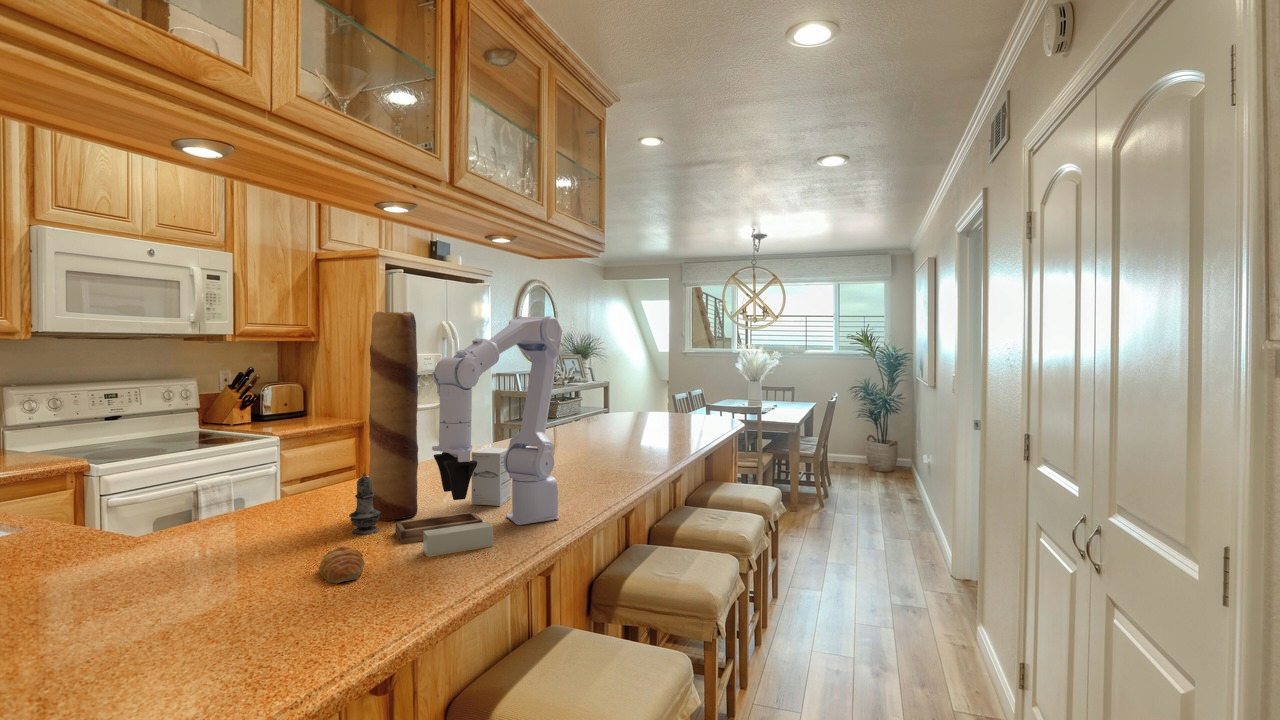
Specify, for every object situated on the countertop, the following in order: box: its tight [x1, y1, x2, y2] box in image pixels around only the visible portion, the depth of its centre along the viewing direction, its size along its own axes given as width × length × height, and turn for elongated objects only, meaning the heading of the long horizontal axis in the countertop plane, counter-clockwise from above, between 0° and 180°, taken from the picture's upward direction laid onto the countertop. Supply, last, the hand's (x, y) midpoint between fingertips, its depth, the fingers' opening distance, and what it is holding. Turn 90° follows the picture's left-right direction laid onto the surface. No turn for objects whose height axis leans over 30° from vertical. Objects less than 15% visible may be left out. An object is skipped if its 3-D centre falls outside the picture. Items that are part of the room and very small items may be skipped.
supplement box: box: [471, 447, 512, 507], centre depth 150 cm, size 7×7×13 cm
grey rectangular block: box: [422, 521, 494, 558], centre depth 117 cm, size 12×4×4 cm, turn 120°
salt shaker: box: [348, 472, 381, 536], centre depth 127 cm, size 6×6×12 cm
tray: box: [394, 511, 483, 545], centre depth 127 cm, size 16×8×2 cm, turn 120°
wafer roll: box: [368, 311, 419, 521], centre depth 138 cm, size 10×11×45 cm
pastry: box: [318, 545, 366, 584], centre depth 104 cm, size 9×7×4 cm
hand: (454, 495), depth 117 cm, fingers open, 7 cm apart
